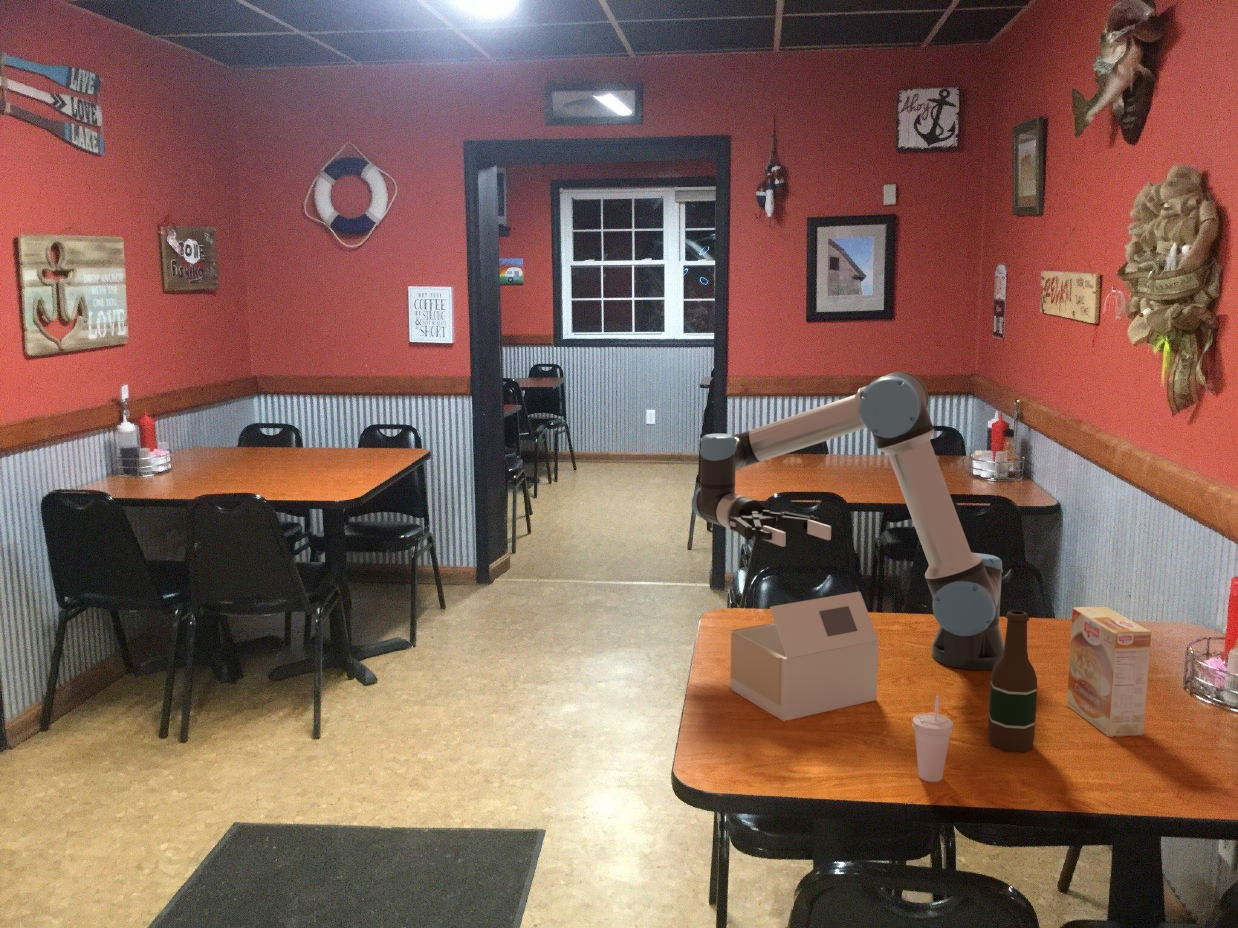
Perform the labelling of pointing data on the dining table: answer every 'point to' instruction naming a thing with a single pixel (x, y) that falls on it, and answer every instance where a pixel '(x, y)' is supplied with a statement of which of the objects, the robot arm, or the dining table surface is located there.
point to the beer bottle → (1013, 691)
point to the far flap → (823, 624)
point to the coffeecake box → (1108, 670)
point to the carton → (800, 674)
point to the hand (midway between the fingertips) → (807, 536)
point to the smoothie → (932, 743)
